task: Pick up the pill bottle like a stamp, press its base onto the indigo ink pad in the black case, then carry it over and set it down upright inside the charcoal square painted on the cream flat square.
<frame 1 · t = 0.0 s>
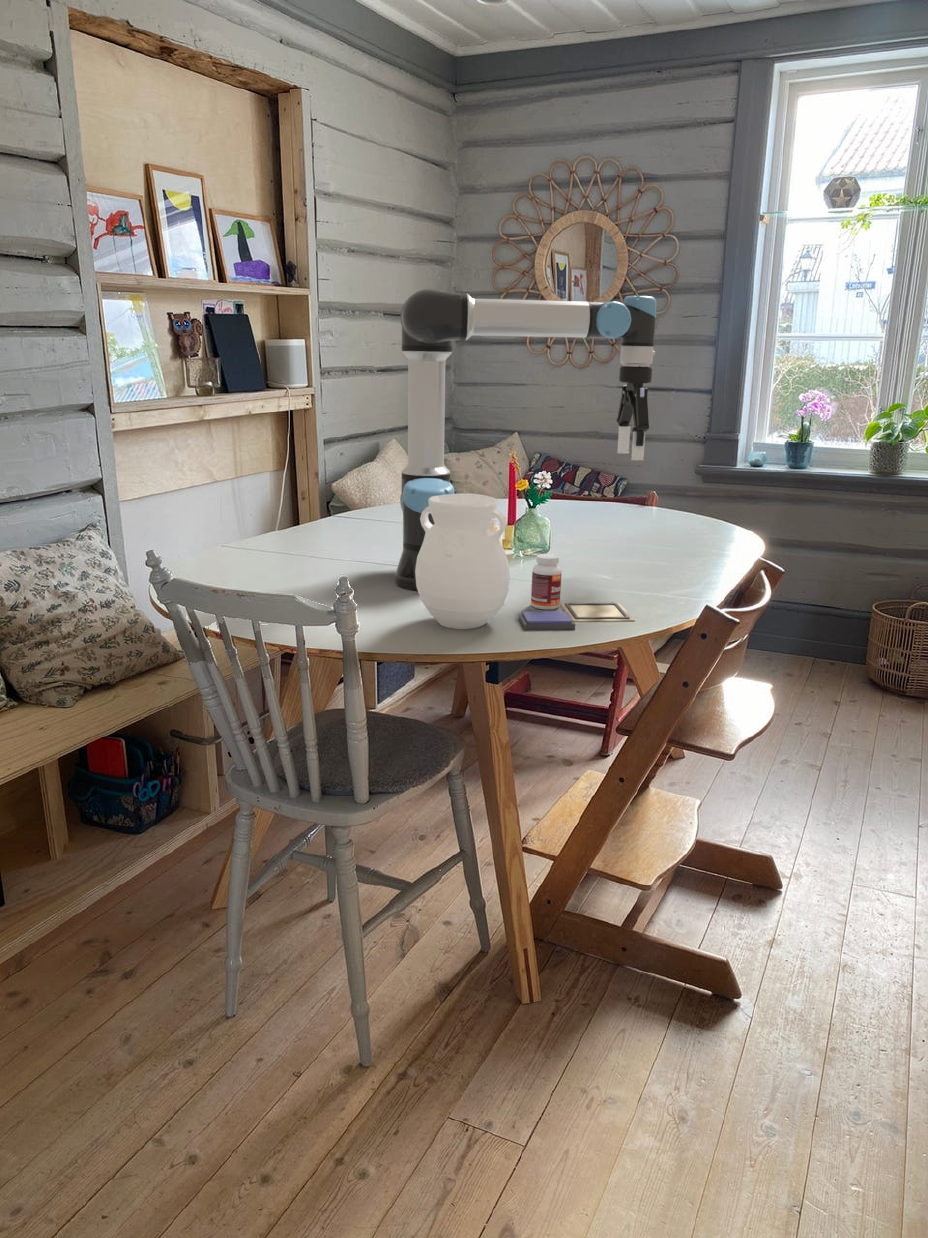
hand: (629, 456, 229), 28 cm above the table, fingers open, 13 cm apart
pill bottle: (545, 607, 203), on the table
cream flat square: (596, 612, 199), on the table
ink pad: (546, 623, 190), on the table
white ceramic vase: (461, 623, 189), on the table
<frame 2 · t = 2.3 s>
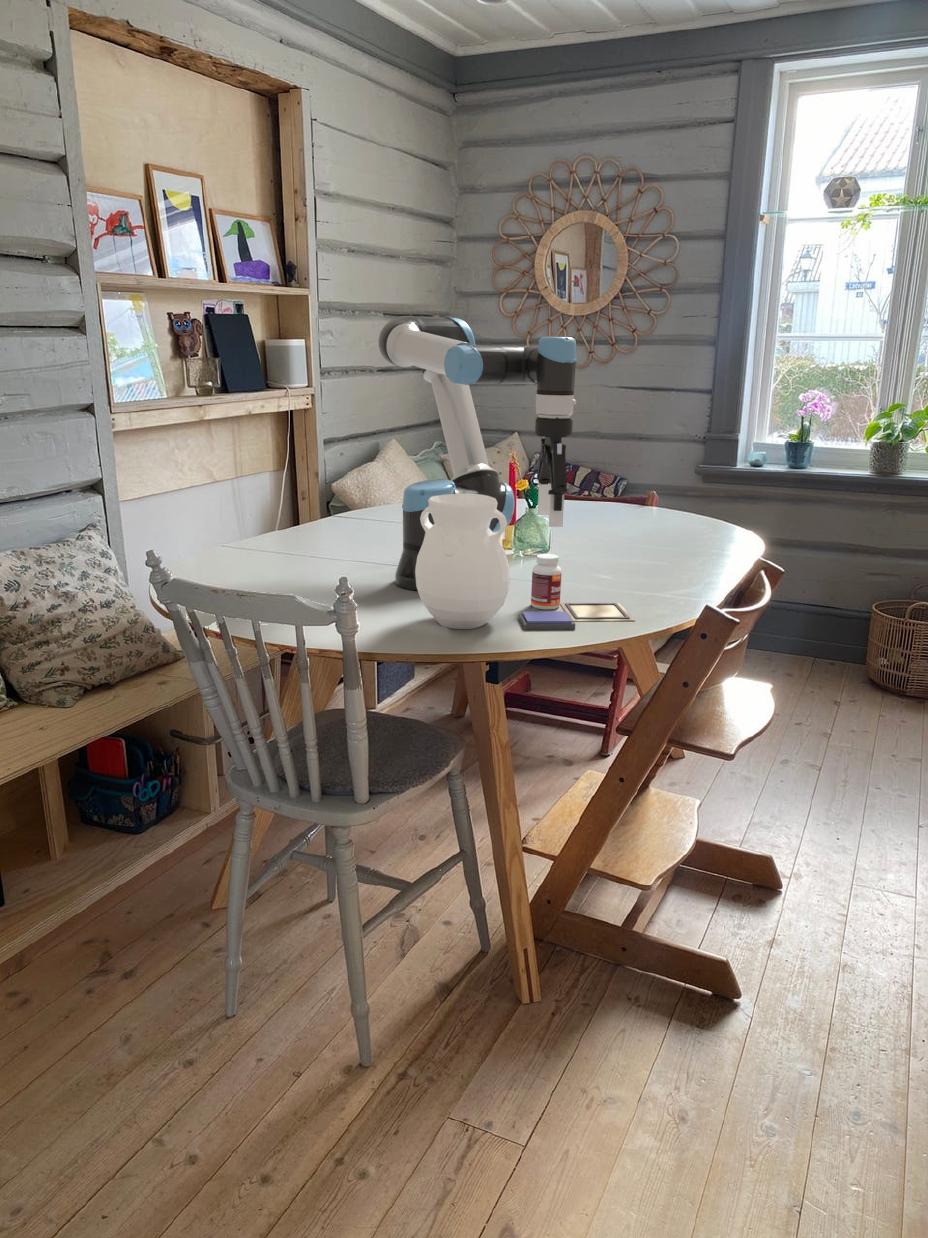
hand: (549, 520, 197), 19 cm above the table, fingers open, 13 cm apart
nothing on the table moved.
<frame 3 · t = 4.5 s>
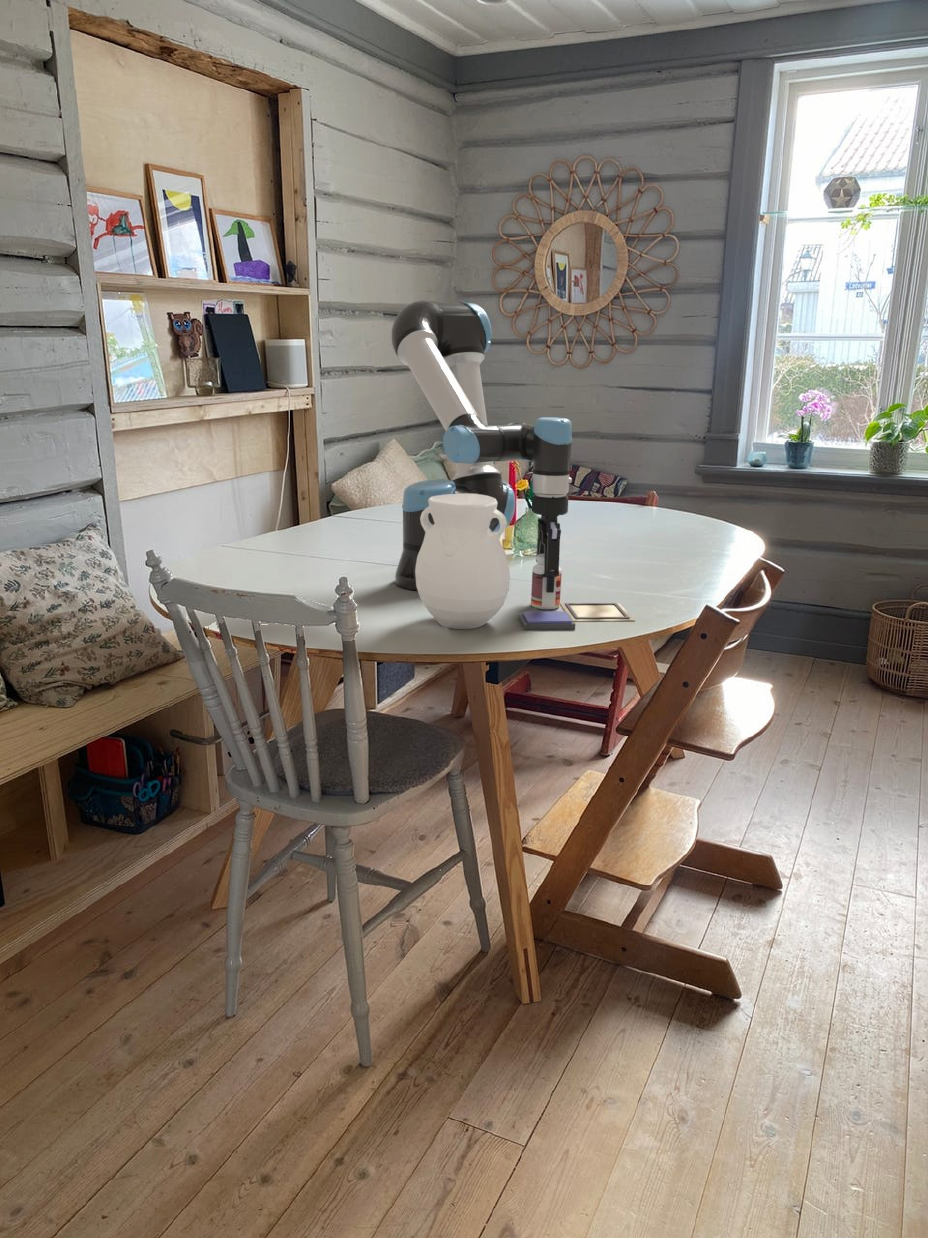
hand: (545, 601, 202), 1 cm above the table, fingers closed on pill bottle, 6 cm apart
pill bottle: (545, 607, 203), on the table, touching gripper
everything else where it was.
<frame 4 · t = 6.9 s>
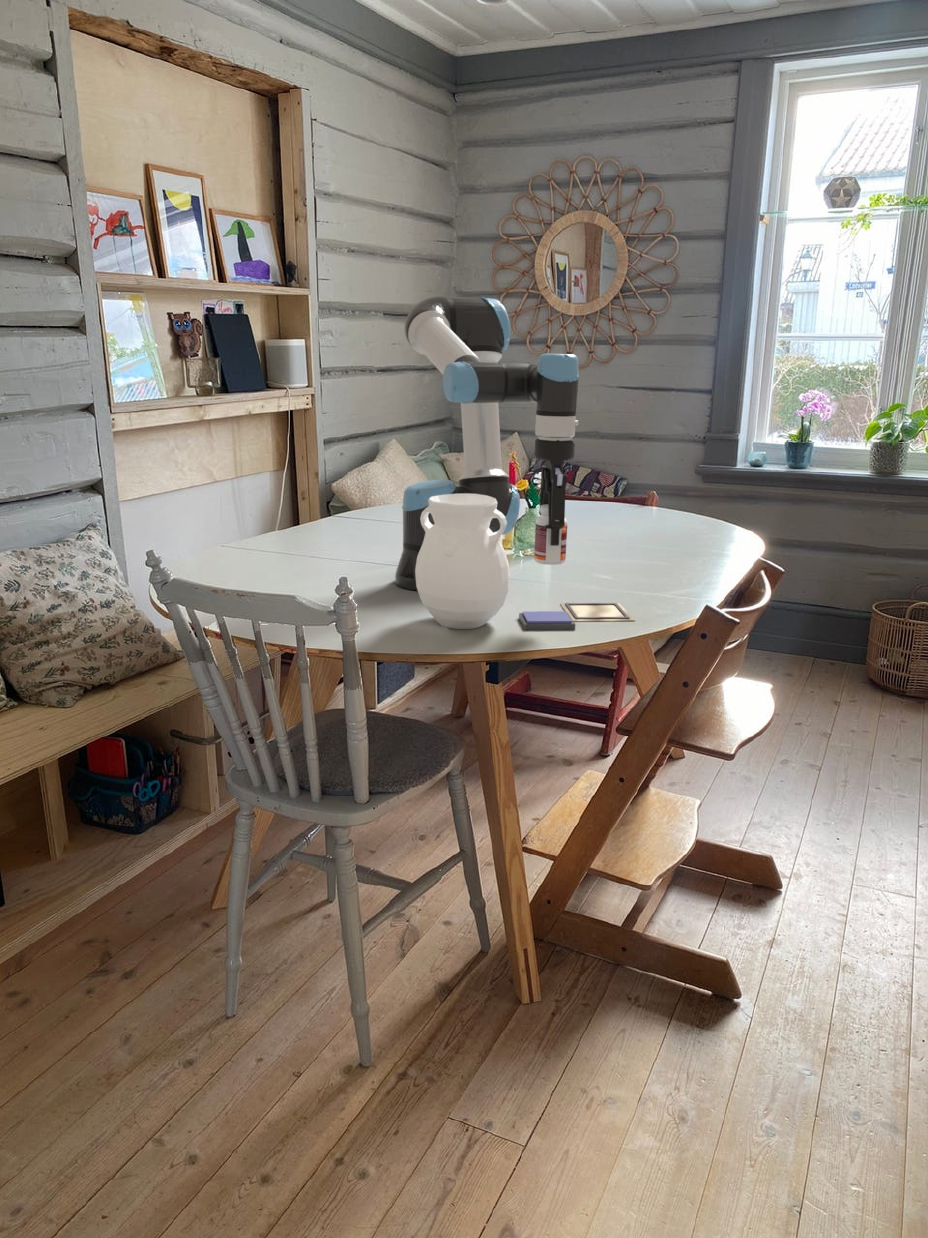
hand: (549, 557, 186), 14 cm above the table, fingers closed on pill bottle, 6 cm apart
pill bottle: (549, 562, 186), point 13 cm above the table, touching gripper
everything else where it was.
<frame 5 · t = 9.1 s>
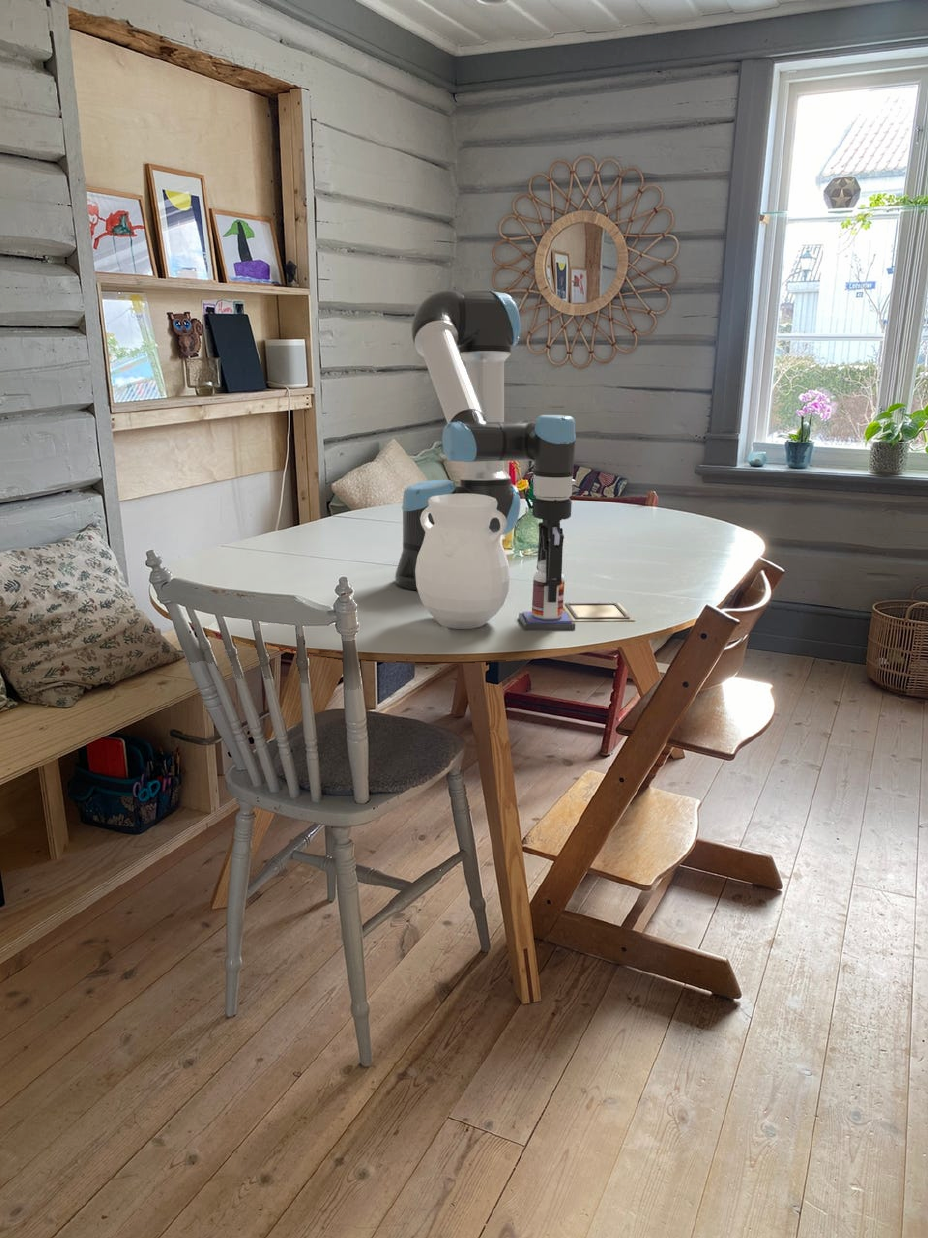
hand: (547, 612, 189), 2 cm above the table, fingers closed on pill bottle, 6 cm apart
pill bottle: (547, 617, 190), point 1 cm above the table, touching gripper, ink pad
everything else where it was.
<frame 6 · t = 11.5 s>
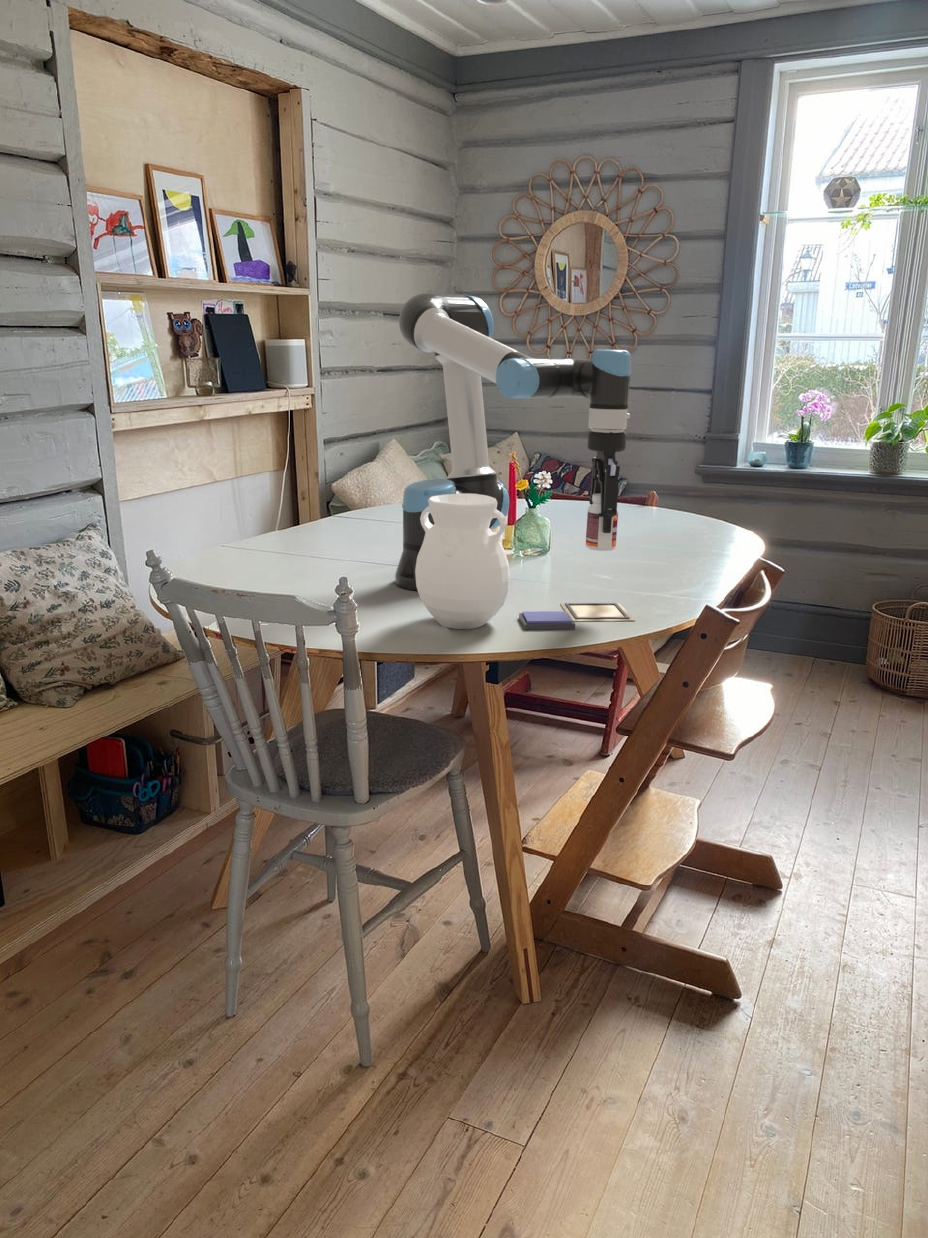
hand: (600, 544, 195), 15 cm above the table, fingers closed on pill bottle, 6 cm apart
pill bottle: (600, 549, 195), point 13 cm above the table, touching gripper
everything else where it was.
when the fingers open (2 cm above the table, at t = 13.6 s): pill bottle drops 1 cm, resting on cream flat square.
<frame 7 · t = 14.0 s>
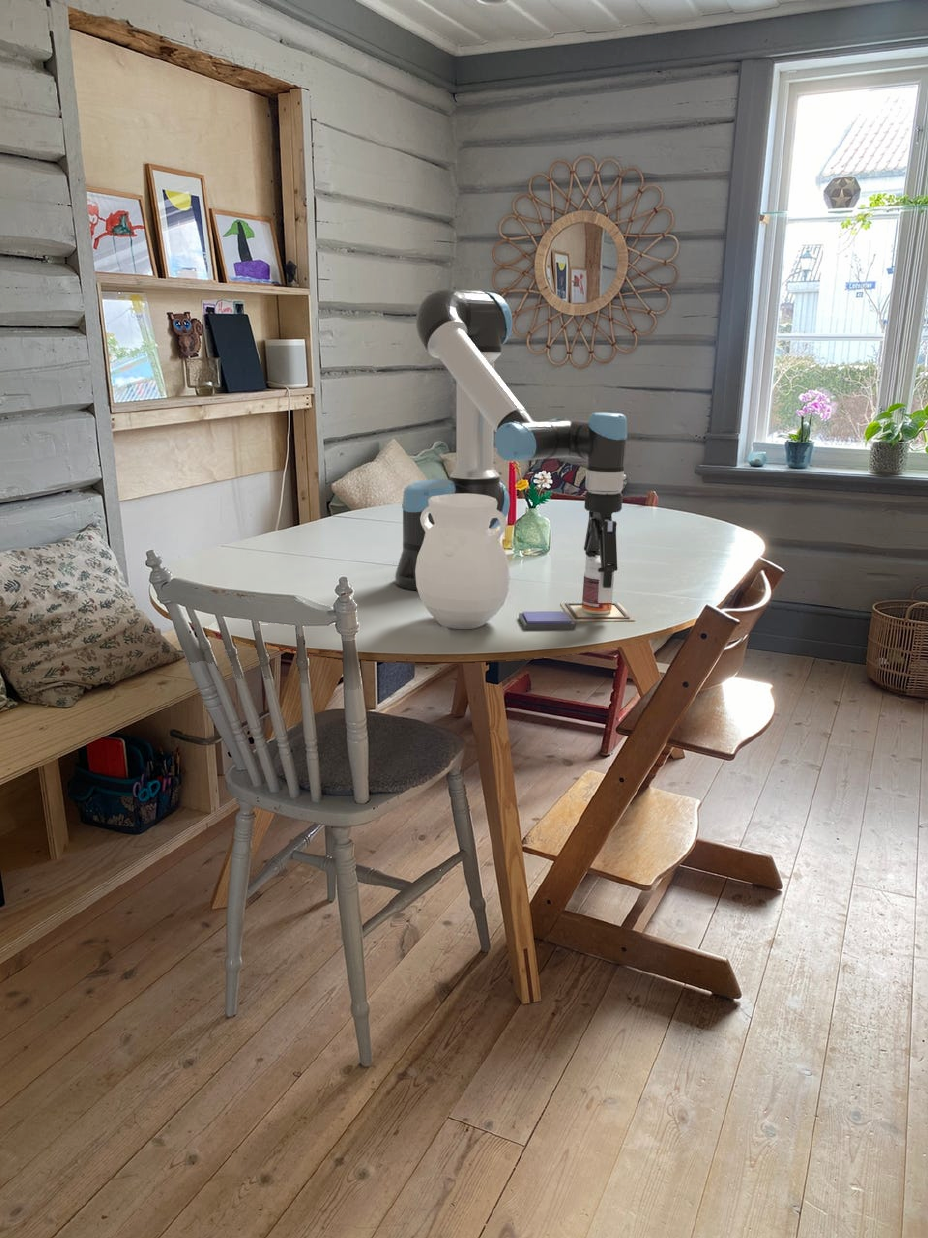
hand: (597, 594, 198), 4 cm above the table, fingers open, 12 cm apart
pill bottle: (596, 612, 199), resting on cream flat square
everything else where it was.
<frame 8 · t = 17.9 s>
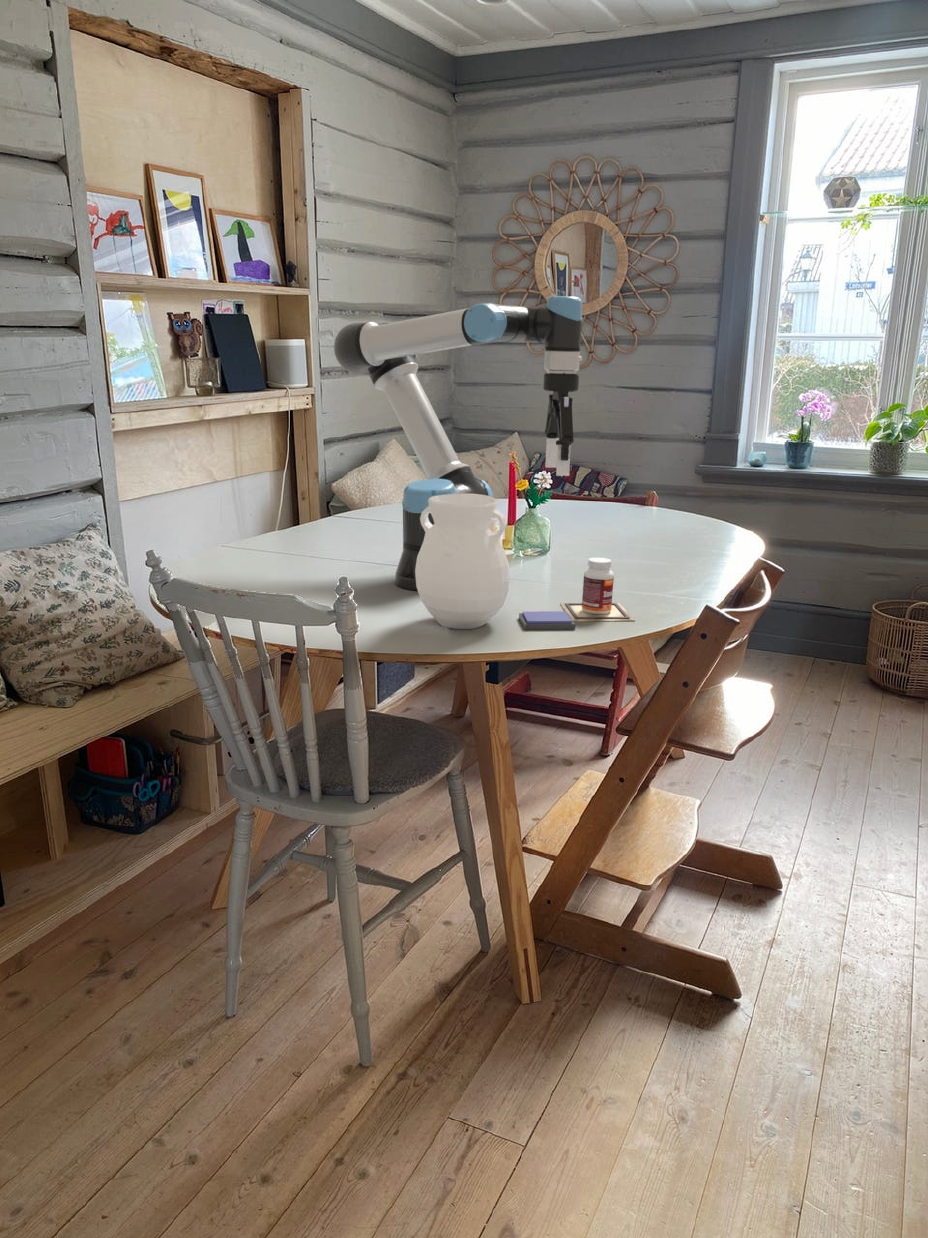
hand: (556, 471, 210), 27 cm above the table, fingers open, 13 cm apart
nothing on the table moved.
at the end: pill bottle inside the target area on the cream flat square (0.2 cm from its centre), point 0.0 cm above the cream flat square's base; pill bottle tilted 0°; the gripper is holding nothing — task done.
